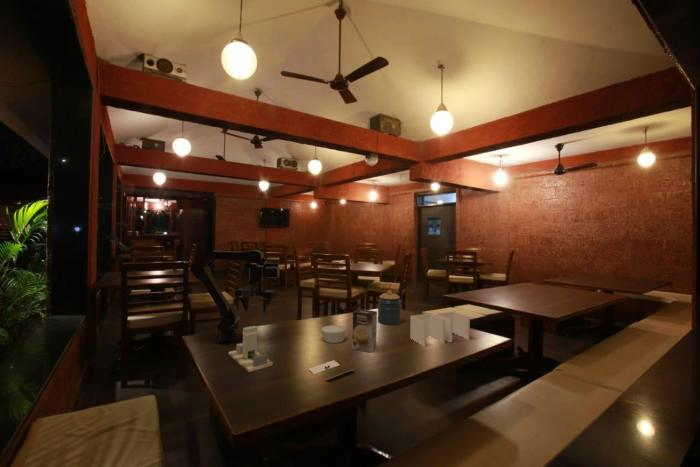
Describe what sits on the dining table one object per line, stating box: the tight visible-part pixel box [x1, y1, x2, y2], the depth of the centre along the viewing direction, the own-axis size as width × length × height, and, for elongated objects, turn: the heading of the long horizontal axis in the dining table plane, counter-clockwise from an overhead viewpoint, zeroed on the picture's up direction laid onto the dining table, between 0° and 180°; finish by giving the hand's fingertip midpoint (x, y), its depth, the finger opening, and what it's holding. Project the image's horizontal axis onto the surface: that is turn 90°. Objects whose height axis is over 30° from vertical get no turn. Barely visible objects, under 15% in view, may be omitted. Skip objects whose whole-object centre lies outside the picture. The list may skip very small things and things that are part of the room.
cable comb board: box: [228, 349, 274, 373], centre depth 122 cm, size 20×9×1 cm, turn 40°
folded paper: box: [308, 360, 355, 381], centre depth 112 cm, size 12×12×2 cm
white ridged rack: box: [235, 342, 268, 367], centre depth 121 cm, size 18×5×3 cm, turn 40°
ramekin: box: [321, 324, 347, 344], centre depth 146 cm, size 11×11×5 cm
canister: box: [377, 290, 402, 326], centre depth 176 cm, size 13×13×18 cm
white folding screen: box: [409, 311, 471, 347], centre depth 148 cm, size 25×11×11 cm, turn 111°
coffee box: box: [351, 308, 378, 354], centre depth 135 cm, size 9×6×16 cm
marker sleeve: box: [242, 325, 258, 359], centre depth 122 cm, size 3×4×11 cm
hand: (255, 312), depth 142 cm, fingers open, 9 cm apart
